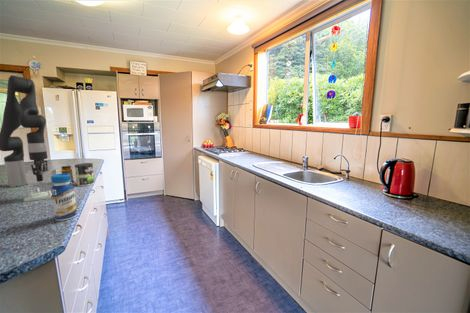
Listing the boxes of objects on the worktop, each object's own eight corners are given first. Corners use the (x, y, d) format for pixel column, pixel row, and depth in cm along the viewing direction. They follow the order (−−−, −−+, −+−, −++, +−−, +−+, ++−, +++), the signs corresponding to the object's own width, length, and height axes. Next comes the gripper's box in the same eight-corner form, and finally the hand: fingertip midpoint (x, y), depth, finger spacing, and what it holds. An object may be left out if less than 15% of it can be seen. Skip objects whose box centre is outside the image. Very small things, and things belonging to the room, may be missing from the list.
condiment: (60, 183, 152) (58, 166, 150) (73, 180, 159) (71, 164, 157) (65, 184, 149) (63, 167, 147) (79, 181, 156) (77, 165, 154)
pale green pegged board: (23, 201, 117) (22, 193, 116) (33, 195, 127) (32, 187, 126) (55, 198, 122) (54, 190, 121) (62, 192, 132) (61, 185, 131)
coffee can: (98, 182, 153) (96, 163, 151) (85, 186, 143) (83, 166, 141) (86, 181, 155) (84, 162, 153) (73, 185, 145) (70, 165, 143)
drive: (56, 179, 127) (55, 169, 126) (52, 181, 122) (51, 170, 121) (31, 180, 123) (30, 170, 122) (26, 183, 119) (24, 172, 118)
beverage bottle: (74, 211, 104) (69, 171, 100) (80, 216, 98) (75, 174, 95) (52, 217, 97) (46, 175, 94) (57, 223, 92) (50, 178, 89)
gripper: (40, 152, 115) (45, 182, 118) (51, 149, 128) (55, 176, 131) (22, 153, 112) (27, 184, 115) (35, 149, 125) (39, 177, 128)
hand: (42, 179), depth 123 cm, fingers closed on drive, 5 cm apart
